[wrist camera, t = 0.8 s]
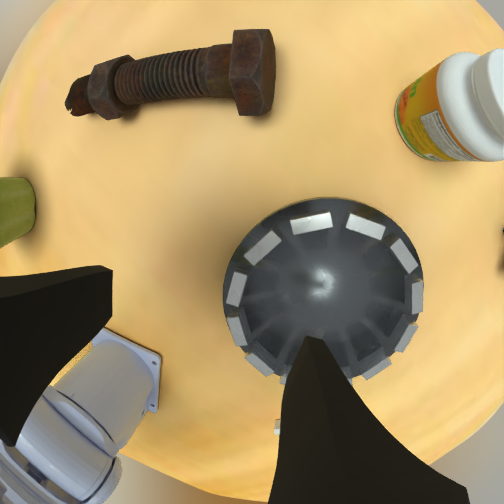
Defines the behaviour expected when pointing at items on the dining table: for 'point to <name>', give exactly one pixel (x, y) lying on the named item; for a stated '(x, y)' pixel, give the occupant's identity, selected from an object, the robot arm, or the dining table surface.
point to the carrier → (324, 287)
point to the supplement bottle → (456, 109)
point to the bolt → (183, 78)
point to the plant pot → (15, 208)
